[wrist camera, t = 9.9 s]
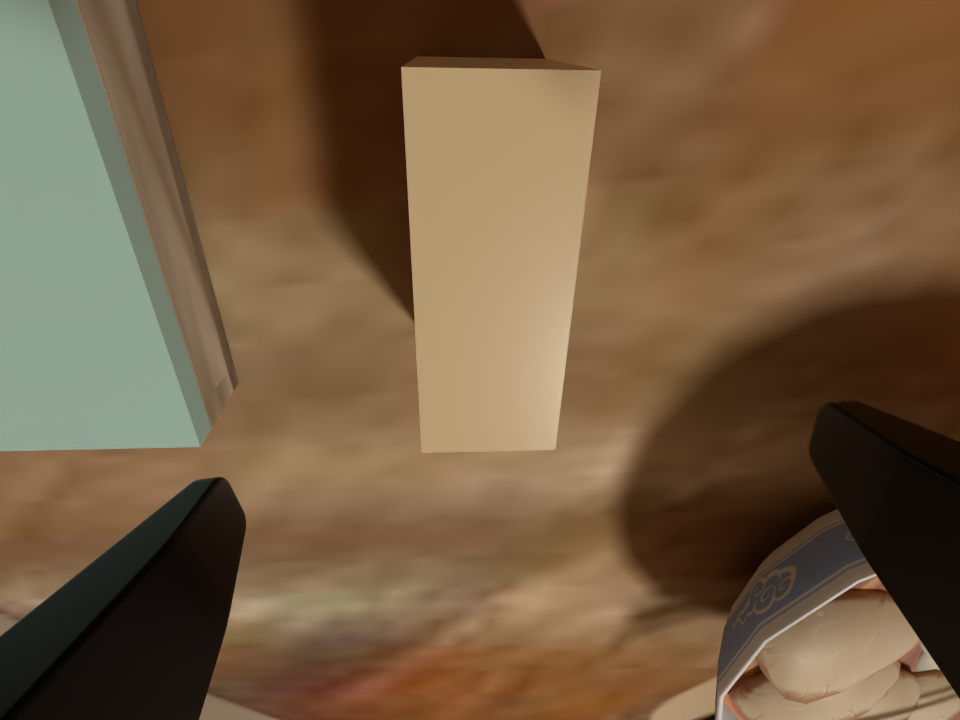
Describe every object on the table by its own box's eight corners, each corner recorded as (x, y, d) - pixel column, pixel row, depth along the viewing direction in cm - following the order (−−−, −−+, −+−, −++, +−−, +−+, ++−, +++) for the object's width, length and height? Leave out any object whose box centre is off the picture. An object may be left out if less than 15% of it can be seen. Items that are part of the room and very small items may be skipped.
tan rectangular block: (545, 58, 17) (601, 70, 11) (525, 336, 22) (555, 449, 16) (417, 56, 16) (400, 66, 10) (428, 337, 22) (421, 452, 16)
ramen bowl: (1153, 299, 22) (1474, 419, 15) (1065, 593, 34) (1225, 738, 27) (591, 489, 26) (643, 651, 19) (683, 693, 38) (736, 840, 31)
